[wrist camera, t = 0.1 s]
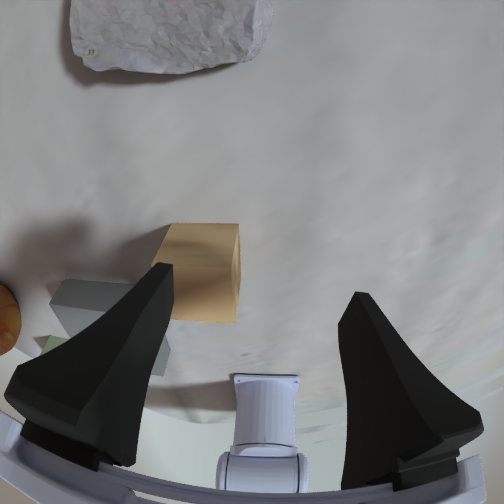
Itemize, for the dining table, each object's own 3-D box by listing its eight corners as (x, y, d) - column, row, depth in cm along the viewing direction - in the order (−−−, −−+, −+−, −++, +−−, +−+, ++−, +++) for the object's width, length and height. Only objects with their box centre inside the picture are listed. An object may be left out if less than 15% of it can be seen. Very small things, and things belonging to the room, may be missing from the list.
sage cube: (90, 361, 36) (78, 388, 32) (65, 354, 36) (53, 380, 32) (75, 340, 33) (62, 369, 29) (50, 334, 33) (36, 361, 29)
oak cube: (241, 275, 24) (235, 323, 20) (182, 273, 24) (166, 318, 20) (238, 223, 21) (230, 267, 17) (172, 222, 21) (150, 265, 17)
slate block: (171, 346, 32) (163, 376, 28) (98, 336, 32) (87, 362, 29) (149, 282, 26) (135, 315, 23) (66, 276, 26) (49, 303, 23)
